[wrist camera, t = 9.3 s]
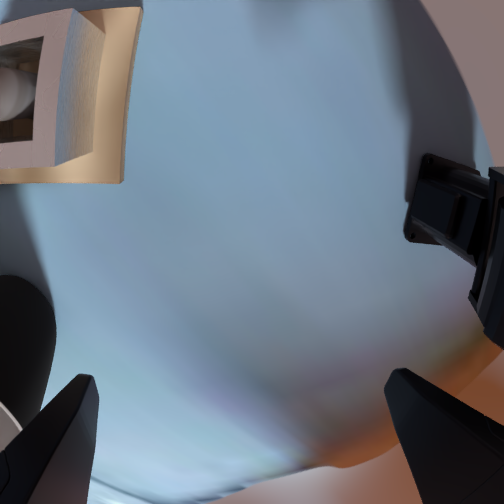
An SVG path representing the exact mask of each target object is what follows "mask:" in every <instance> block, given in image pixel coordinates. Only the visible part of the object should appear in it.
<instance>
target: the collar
mask: <svg viewBox="0 0 504 504" xmlns="http://www.w3.org/2000/svg"><path fill="white" fill-rule="evenodd" d="M105 36H106V34H104V33H103V32H102V31H101V30H100V29H98V28H97V27H96V26H95V25H94V24H92V23H91V22H90V21H89V20H87V19H86V18H85V17H84V16H82V15H81V14H80V13H79V12H78V11H76V10H75V9H74V8H69V9H63V10H58V11H53V12H48V13H43V14H38V15H34V16H30V17H26V18H22V19H18V20H15V21H11V22H8V23H4V24H1V25H0V67H5V68H11V69H17V70H19V64H22V63H27V62H33V61H38V60H40V63H39V70H38V77H37V86H36V95H35V106H34V122H33V135H25V136H15V137H13V123H14V120H6V121H0V169H12V168H32V167H55V166H58V165H60V164H63V163H65V162H68V161H70V160H73V159H75V158H78V157H80V156H83V155H86V154H88V153H91V152H93V139H94V123H95V110H96V99H97V90H98V81H99V74H100V66H101V60H102V53H103V47H104V41H105Z"/></svg>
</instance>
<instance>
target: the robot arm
mask: <svg viewBox="0 0 504 504" xmlns="http://www.w3.org/2000/svg"><path fill="white" fill-rule="evenodd" d="M429 158H430V162H429V163H428V160H429ZM488 176H489V177H490V179H487V178H484V177H481V175H480V172H479V171H478V170H475V169H472V168H470V167H467V166H464V165H462V164H459V163H456V162H453V161H451V160H448V159H445V158H442V157H439V156H436V155H433V154H429V153H426V154H425V155H424V156H423V158H422V163H421V168H420V173H419V178H418V182H417V187H416V191H415V195H414V200H413V204H412V208H411V212H410V216H409V220H408V223H407V227H406V231H405V239H406V240H408V241H409V242H413V243H423V244H433V245H442V246H445V247H446V248H448V249H449V250H451V251H452V252H454V253H455V254H457V255H458V256H460V257H461V258H463V259H464V260H465V261H467V262H468V263H470V264H471V265H473V266H474V267H475V268H476V272H475V277H474V281H473V285H472V289H471V290H470V292H469V296H468V299H469V301H470V302H471V304H472V306H473V308H474V309H475V311H476V313H477V314H478V317H479V319H480V320H481V322H482V324H483V326H484V329H483V332H484V334H485V335H486V336H487V337H488V338H489V339H490V340H491V341H492V342H493V343H494V344H496V345H497V346H498V347H500V348H501V349H503V350H504V167H489V173H488ZM412 233H413V234H412ZM411 234H412V236H411V237H410V235H411ZM384 393H385V397H386V400H387V404H388V407H389V410H390V414H391V417H392V421H393V424H394V428H395V431H396V433H397V436H398V438H399V441H400V443H401V446H402V449H403V451H404V454H405V456H406V459H407V462H408V464H409V467H410V469H411V472H412V475H413V478H414V480H415V483H416V485H417V489H418V491H419V494H420V497H421V500H422V503H423V504H504V426H503V425H501V424H499V423H497V422H496V421H494V420H492V419H490V418H489V417H487V416H484V414H482V413H480V412H478V411H477V410H475V409H473V408H472V407H470V406H468V405H467V404H465V403H463V402H461V401H460V400H458V399H457V398H455V397H453V396H452V395H450V394H448V393H447V392H445V391H443V390H442V389H440V388H438V387H437V386H435V385H433V384H432V383H430V382H428V381H427V380H425V379H423V378H422V377H420V376H418V375H417V374H415V373H414V372H412V371H410V370H409V369H407V368H398V369H394V370H393V371H392V373H391V375H390V377H389V379H388V381H387V383H386V385H385V387H384ZM98 408H99V394H98V390H97V387H96V383H95V380H94V377H93V376H92V375H88V374H78V375H77V376H76V377H75V378H74V379H73V380H71V381H70V382H69V383H68V384H67V385H66V386H65V387H64V388H63V389H62V390H61V391H60V392H59V393H58V394H57V395H56V396H55V397H54V398H53V399H52V400H51V401H50V402H49V403H48V404H47V405H46V406H45V407H44V408H43V409H42V410H41V411H40V412H39V413H38V414H37V415H36V416H35V417H34V418H33V419H32V420H31V421H30V422H29V423H28V424H27V425H26V426H25V427H24V428H23V429H22V430H21V431H20V432H19V434H18V435H17V436H16V437H15V438H14V439H13V440H12V441H11V442H10V443H9V444H8V445H7V446H6V447H5V450H2V451H1V452H0V504H87V497H88V490H89V483H90V477H91V471H92V465H93V459H94V453H95V446H96V432H97V419H98Z"/></svg>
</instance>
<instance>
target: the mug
mask: <svg viewBox="0 0 504 504" xmlns="http://www.w3.org/2000/svg"><path fill="white" fill-rule="evenodd" d="M56 335H57V334H56V322H55V317H54V314H53V311H52V309H51V307H50V305H49V303H48V301H47V300H46V298H45V297H44V296H43V294H42V293H41V292H40V291H39V290H38V289H37V288H36V287H35V286H34V285H32V284H31V283H29V282H28V281H26V280H24V279H22V278H20V277H17V276H13V275H0V452H1V451H2V450H5V447H6V446H7V445H8V444H9V443H10V442H11V441H12V440H13V439H14V438H15V437H16V436H17V435H18V434H19V432H20V431H21V430H22V429H23V428H24V427H25V426H26V425H27V424H28V423H29V422H30V421H31V420H32V419H33V418H34V417H35V416H36V415H37V414H38V413H39V412H40V409H41V405H42V402H43V398H44V394H45V390H46V387H47V383H48V379H49V375H50V371H51V366H52V362H53V357H54V352H55V346H56Z"/></svg>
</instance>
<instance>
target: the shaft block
mask: <svg viewBox="0 0 504 504" xmlns="http://www.w3.org/2000/svg"><path fill="white" fill-rule="evenodd" d="M79 13H80V14H81V15H82V16H84V17H85V18H86V19H87V20H89V21H90V22H91V23H92V24H94V25H95V26H96V27H97V28H98V29H100V30H101V31H102V32H103V33H104V34H106V36H105V41H104V47H103V53H102V60H101V66H100V74H99V81H98V90H97V99H96V110H95V123H94V139H93V152H91V153H88V154H86V155H83V156H80V157H78V158H75V159H73V160H70V161H68V162H65V163H63V164H60V165H58V166H55V167H32V168H12V169H0V184H14V183H104V184H120V183H121V182H122V181H124V161H125V144H126V130H127V118H128V108H129V99H130V90H131V82H132V75H133V68H134V61H135V55H136V49H137V43H138V37H139V32H140V27H141V22H142V17H143V10H142V9H141V7H123V8H109V9H98V10H89V11H81V12H79ZM39 63H40V60H38V61H33V62H27V63H22V64H19V70H17V69H11V68H5V67H0V121H6V120H14V123H13V137H15V136H25V135H33V122H34V106H35V95H36V86H37V77H38V70H39Z"/></svg>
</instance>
